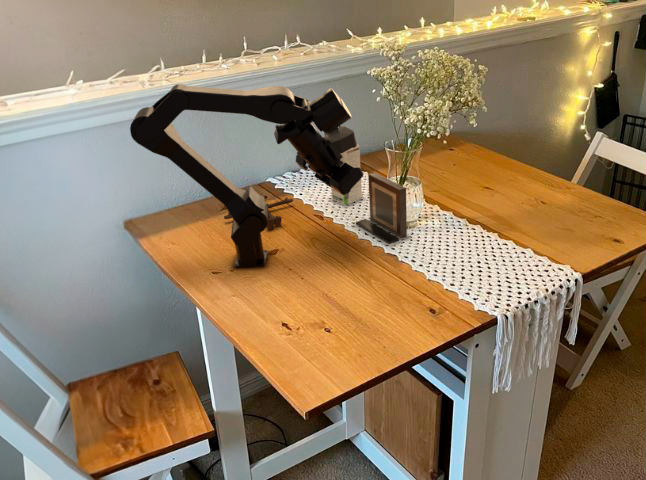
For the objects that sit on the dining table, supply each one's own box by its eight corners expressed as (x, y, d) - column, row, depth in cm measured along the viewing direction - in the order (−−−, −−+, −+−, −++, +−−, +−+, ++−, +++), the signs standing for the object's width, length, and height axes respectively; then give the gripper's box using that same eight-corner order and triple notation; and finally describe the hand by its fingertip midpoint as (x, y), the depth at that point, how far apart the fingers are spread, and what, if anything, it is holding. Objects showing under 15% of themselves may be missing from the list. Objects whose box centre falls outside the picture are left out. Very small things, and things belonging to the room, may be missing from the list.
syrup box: (331, 200, 172) (326, 145, 164) (348, 193, 176) (344, 138, 168) (346, 206, 169) (342, 150, 161) (363, 198, 172) (360, 143, 165)
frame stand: (389, 246, 150) (388, 242, 150) (355, 225, 159) (355, 222, 159) (399, 242, 152) (398, 238, 151) (365, 222, 161) (365, 218, 160)
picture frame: (400, 239, 153) (399, 190, 146) (369, 221, 161) (367, 174, 154) (406, 237, 154) (406, 187, 147) (376, 219, 162) (374, 172, 155)
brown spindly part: (237, 227, 153) (215, 200, 163) (239, 243, 156) (218, 215, 166) (309, 208, 161) (284, 183, 171) (310, 223, 164) (285, 198, 173)
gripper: (361, 128, 130) (398, 179, 142) (313, 103, 143) (350, 152, 154) (322, 169, 129) (362, 218, 141) (277, 140, 142) (317, 187, 153)
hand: (348, 191), depth 147 cm, fingers closed
